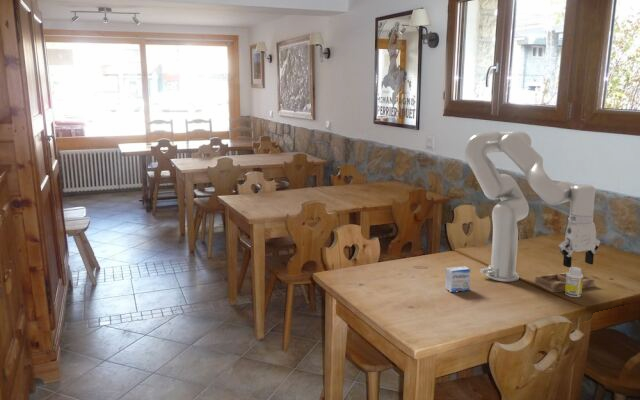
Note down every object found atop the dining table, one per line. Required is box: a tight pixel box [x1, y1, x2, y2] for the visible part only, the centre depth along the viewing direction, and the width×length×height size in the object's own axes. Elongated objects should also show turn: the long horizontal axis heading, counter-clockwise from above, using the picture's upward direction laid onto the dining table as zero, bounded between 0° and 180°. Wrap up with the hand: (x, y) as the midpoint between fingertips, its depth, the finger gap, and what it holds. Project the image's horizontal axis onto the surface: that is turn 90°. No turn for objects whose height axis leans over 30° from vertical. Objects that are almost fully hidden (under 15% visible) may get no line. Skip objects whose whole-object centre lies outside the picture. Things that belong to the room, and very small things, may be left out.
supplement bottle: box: [564, 266, 584, 298], centre depth 188 cm, size 6×6×10 cm
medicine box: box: [445, 265, 471, 293], centre depth 194 cm, size 8×4×9 cm, turn 105°
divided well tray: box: [534, 271, 595, 293], centre depth 198 cm, size 19×10×3 cm, turn 106°
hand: (578, 265), depth 186 cm, fingers open, 9 cm apart
